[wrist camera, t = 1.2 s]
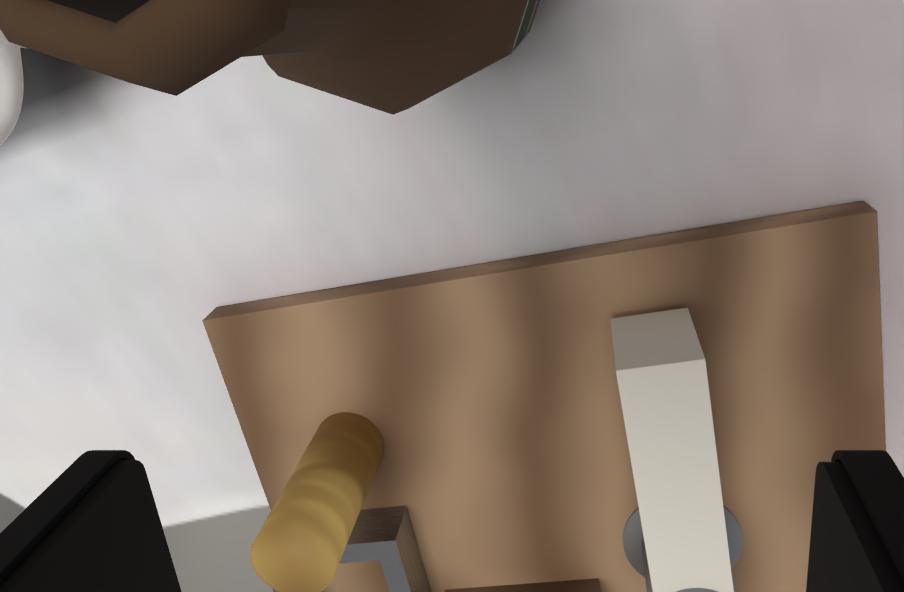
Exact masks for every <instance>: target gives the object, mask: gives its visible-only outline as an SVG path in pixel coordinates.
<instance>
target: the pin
mask: <svg viewBox="0 0 904 592" xmlns="http://www.w3.org/2000/svg"><path fill="white" fill-rule="evenodd" d="M383 452H384V441H383V437H382V435H381V433H380V431H379V429H378V428H377V427H376V426H375V424H373V423H372V422H371V421H370V420H369V419H367V418H365V417H363V416H361V415H359V414H355V413H350V412H340V413H336V414H333V415H331V416H329V417H327V418H326V419H325V420H324V421H323V422H322V423H321V424H320V426H319V427H318V429H317V431H316V433H315V435H314V436H313V438H312V440H311V442H310V443H309V445H308V447H307V449H306V450H305V452H304V454H303V456H302V457H301V459H300V461H299V463H298V465H297V466H296V468H295V470H294V472H293V473H292V475H291V477H290V479H289V480H288V482H287V484H286V486H285V487H284V489H283V491H282V493H281V495H280V496H279V498H278V500H277V502H276V503H275V505H274V507H273V509H272V510H271V512H270V514H269V516H268V517H267V520H266V521H265V523H264V524H263V526H262V528H261V530H260V532H259V533H258V535H257V537H256V539H255V541H254V542H253V544H252V547H251V562H252V565H253V567H254V570H255V571H256V573H257V575H258V576H259V577H260V578H261V579H262V580H263V581H264V582H265V583H266V584H267V585H268V586H270V587H271V588H273V589H275V590H277V591H278V592H321V591H323V590H324V589H326V588H327V587H328V586H329V585H330V583H331V582H332V580H333V577H334V575H335V572H336V570H337V567H338V565H339V562H340V560H341V557H342V555H343V552H344V550H345V547H346V545H347V542H348V540H349V537H350V535H351V532H352V530H353V527H354V525H355V522H356V520H357V517H358V515H359V513H360V510H361V508H362V505H363V503H364V500H365V498H366V495H367V493H368V490H369V488H370V485H371V483H372V480H373V478H374V475H375V473H376V470H377V468H378V465H379V463H380V460H381V458H382V455H383Z"/></svg>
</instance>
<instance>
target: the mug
mask: <svg viewBox="0 0 904 592" xmlns="http://www.w3.org/2000/svg"><path fill="white" fill-rule="evenodd" d="M20 47H21V48H25V47H22V46H19V45H16V44H13V43H10V42H8V40H7V39H6V37H5V36H4V34H3V33H2V31H1V30H0V145H1V144H2V143H3V142H4V141H5V140H6V139H7V138H8V137H9V135H10V134H11V132H12V130H13V129H14V127H15V125H16V122H17V120H18V117H19V114H20V110H21V106H22V100H23V69H22V61H21V52H20Z"/></svg>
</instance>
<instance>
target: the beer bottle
mask: <svg viewBox="0 0 904 592" xmlns="http://www.w3.org/2000/svg"><path fill="white" fill-rule="evenodd" d="M539 1H540V0H0V30H1V31H2V33H3V34H4V36H5V37H6V39H7V40H8V42H10V43H13V44H16V45H19V46H22V47H25V48H28V49H31V50H34V51H37V52H40V53H43V54H46V55H49V56H52V57H55V58H58V59H61V60H64V61H67V62H70V63H73V64H76V65H79V66H82V67H85V68H88V69H91V70H94V71H97V72H100V73H103V74H106V75H109V76H112V77H115V78H117V79H120V80H123V81H126V82H129V83H133V84H136V85H140V86H143V87H147V88H151V89H154V90H158V91H161V92H165V93H168V94H172V95H176V96H177V95H178V94H180V93H182V92H183V91H185V90H187V89H188V88H190V87H192V86H193V85H195V84H197V83H198V82H200V81H202V80H203V79H205V78H207V77H208V76H210V75H212V74H213V73H215V72H217V71H218V70H220V69H221V68H223V67H225V66H226V65H228V64H230V63H231V62H233V61H235V60H236V59H238V58H240V57H244V56H257V55H263V57H264V59H265V61H266V62H267V64H268V65H269V66H270V68H271V69H272V70H273V71H274V72H275V73H276V74H277V75H278V76H280V77H283V78H286V79H289V80H292V81H295V82H298V83H301V84H304V85H307V86H310V87H312V88H315V89H318V90H321V91H324V92H327V93H330V94H333V95H336V96H339V97H342V98H345V99H348V100H351V101H354V102H357V103H360V104H363V105H366V106H369V107H372V108H375V109H378V110H381V111H384V112H387V113H390V114H395V113H398V112H401V111H403V110H406V109H409V108H410V107H412V106H414V105H416V104H418V103H420V102H422V101H423V100H425V99H427V98H429V97H431V96H433V95H435V94H437V93H438V92H440V91H442V90H444V89H446V88H448V87H450V86H451V85H453V84H455V83H457V82H459V81H461V80H463V79H464V78H466V77H468V76H470V75H472V74H474V73H476V72H478V71H479V70H481V69H483V68H485V67H487V66H489V65H491V64H492V63H494V62H496V61H498V60H500V59H502V58H504V57H506V56H507V55H509V54H511V53H512V52H513V51H514V49H515V48H516V47H517V46H518V45H519V43H520V42H521V41H522V40H523V38H524V37H525V36H526V35H527V33H528V32H529V31H530V29H531V25H532V22H533V19H534V16H535V13H536V10H537V7H538V4H539Z"/></svg>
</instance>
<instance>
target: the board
mask: <svg viewBox="0 0 904 592" xmlns="http://www.w3.org/2000/svg"><path fill="white" fill-rule="evenodd" d="M681 308H688V310H689V313H690V316H691V319H692V322H693V325H694V328H695V330H696V333H697V336H698V339H699V342H700V345H701V348H702V351H703V354H704V357H705V361H706V370H707V378H708V386H709V394H710V402H711V410H712V418H713V427H714V435H715V443H716V451H717V459H718V467H719V475H720V484H721V492H722V500H723V508H724V516H725V524H726V533H727V541H728V549H729V557H730V563H731V567H732V571H733V575H734V579H735V582H736V586H737V590H738V592H806V585H807V573H808V561H809V548H810V536H811V523H812V511H813V499H814V486H815V474H816V467H817V464H818V463H819V462H831V459H832V456H833V453H834V452H835V451H836V450H884V451H886V443H885V416H884V388H883V360H882V332H881V304H880V276H879V249H878V221H877V211H876V210H875V209H873V208H872V207H871V206H869V205H868V204H867V203H866V202H864V201H859V202H853V203H847V204H841V205H835V206H829V207H823V208H816V209H810V210H804V211H798V212H792V213H786V214H780V215H774V216H768V217H762V218H756V219H750V220H744V221H738V222H731V223H725V224H719V225H713V226H707V227H701V228H695V229H689V230H683V231H677V232H671V233H665V234H659V235H653V236H646V237H640V238H634V239H628V240H622V241H616V242H610V243H604V244H598V245H592V246H586V247H580V248H574V249H568V250H561V251H555V252H549V253H543V254H537V255H531V256H525V257H519V258H513V259H507V260H501V261H495V262H489V263H483V264H476V265H470V266H464V267H458V268H452V269H446V270H440V271H434V272H428V273H422V274H416V275H410V276H404V277H398V278H391V279H385V280H379V281H373V282H367V283H361V284H355V285H349V286H343V287H337V288H331V289H325V290H319V291H313V292H306V293H300V294H294V295H288V296H282V297H276V298H270V299H264V300H258V301H252V302H246V303H240V304H234V305H228V306H221V307H216V308H215V309H214V310H213V311H212V312H211V313H210V314H209V315H208V316H207V317H206V318H205V319H203V320H202V321H203V323H204V326H205V329H206V332H207V334H208V337H209V340H210V343H211V345H212V348H213V351H214V354H215V357H216V359H217V362H218V365H219V368H220V370H221V373H222V376H223V379H224V381H225V384H226V387H227V390H228V392H229V395H230V398H231V401H232V404H233V406H234V409H235V412H236V415H237V417H238V420H239V423H240V426H241V428H242V431H243V434H244V437H245V439H246V442H247V445H248V448H249V451H250V453H251V456H252V459H253V462H254V464H255V467H256V470H257V473H258V475H259V478H260V481H261V484H262V486H263V489H264V492H265V495H266V497H267V500H268V503H269V506H270V509H271V510H272V509H273V507H274V505H275V503H276V502H277V500H278V498H279V496H280V495H281V493H282V491H283V489H284V487H285V486H286V484H287V482H288V480H289V479H290V477H291V475H292V473H293V472H294V470H295V468H296V466H297V465H298V463H299V461H300V459H301V457H302V456H303V454H304V452H305V450H306V449H307V447H308V445H309V443H310V442H311V440H312V438H313V436H314V435H315V433H316V431H317V429H318V427H319V426H320V424H321V423H322V422H323V421H324V420H325V419H326V418H327V417H329V416H331V415H333V414H336V413H340V412H350V413H355V414H359V415H361V416H363V417H365V418H367V419H369V420H370V421H371V422H372V423H373V424H375V426H376V427H377V428H378V429H379V431H380V433H381V435H382V437H383V441H384V452H383V455H382V458H381V460H380V463H379V465H378V468H377V470H376V473H375V475H374V478H373V480H372V483H371V485H370V488H369V490H368V493H367V495H366V498H365V500H364V503H363V505H362V508H361V510H364V509H374V508H384V507H394V506H404V505H407V508H408V512H409V515H410V519H411V522H412V526H413V529H414V532H415V536H416V539H417V543H418V546H419V550H420V553H421V557H422V560H423V564H424V567H425V570H426V574H427V577H428V581H429V584H430V588H431V591H432V592H647V589H646V581H645V572H644V564H643V555H642V540H643V537H644V536H643V530H642V524H641V518H640V513H639V507H638V501H637V495H636V489H635V483H634V477H633V471H632V465H631V459H630V453H629V447H628V441H627V435H626V429H625V423H624V417H623V411H622V405H621V399H620V393H619V387H618V381H617V375H616V368H615V358H614V349H613V339H612V329H611V320H610V319H611V318H618V317H625V316H632V315H639V314H646V313H653V312H660V311H667V310H674V309H681ZM323 592H389V589H388V585H387V582H386V579H385V576H384V573H383V569H382V566H381V563H380V560H378V561H366V562H354V563H342V564H339V565H338V567H337V570H336V572H335V575H334V577H333V580H332V582H331V583H330V585H329V586H328V587H327V588H326V589H324V590H323Z"/></svg>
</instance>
